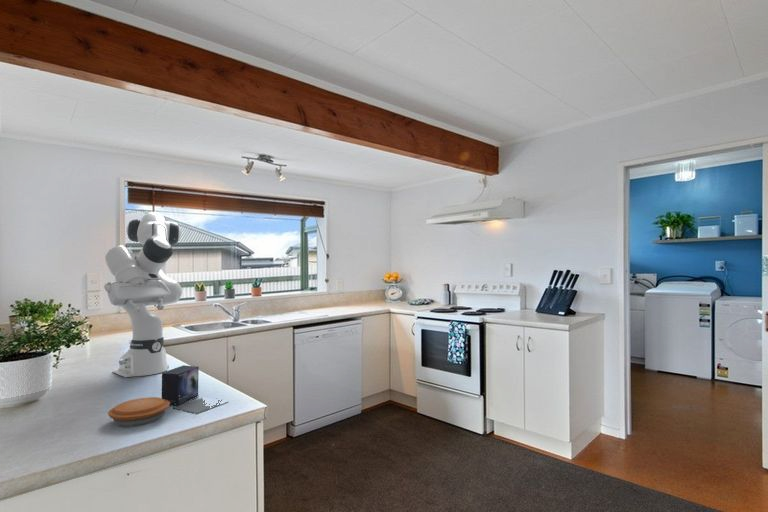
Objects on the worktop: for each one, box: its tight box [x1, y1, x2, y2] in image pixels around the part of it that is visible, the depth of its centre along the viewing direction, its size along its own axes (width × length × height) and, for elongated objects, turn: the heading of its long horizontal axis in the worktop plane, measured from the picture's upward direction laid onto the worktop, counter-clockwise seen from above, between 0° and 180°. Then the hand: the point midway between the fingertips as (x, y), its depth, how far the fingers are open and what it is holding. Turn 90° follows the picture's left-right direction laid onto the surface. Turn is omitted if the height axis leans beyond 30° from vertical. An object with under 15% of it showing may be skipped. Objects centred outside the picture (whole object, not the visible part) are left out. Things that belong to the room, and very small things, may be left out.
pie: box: [107, 396, 170, 428], centre depth 118 cm, size 15×16×5 cm
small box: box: [160, 364, 200, 407], centre depth 134 cm, size 11×6×10 cm, turn 168°
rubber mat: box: [172, 397, 223, 415], centre depth 130 cm, size 11×12×1 cm
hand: (150, 310), depth 143 cm, fingers open, 7 cm apart
